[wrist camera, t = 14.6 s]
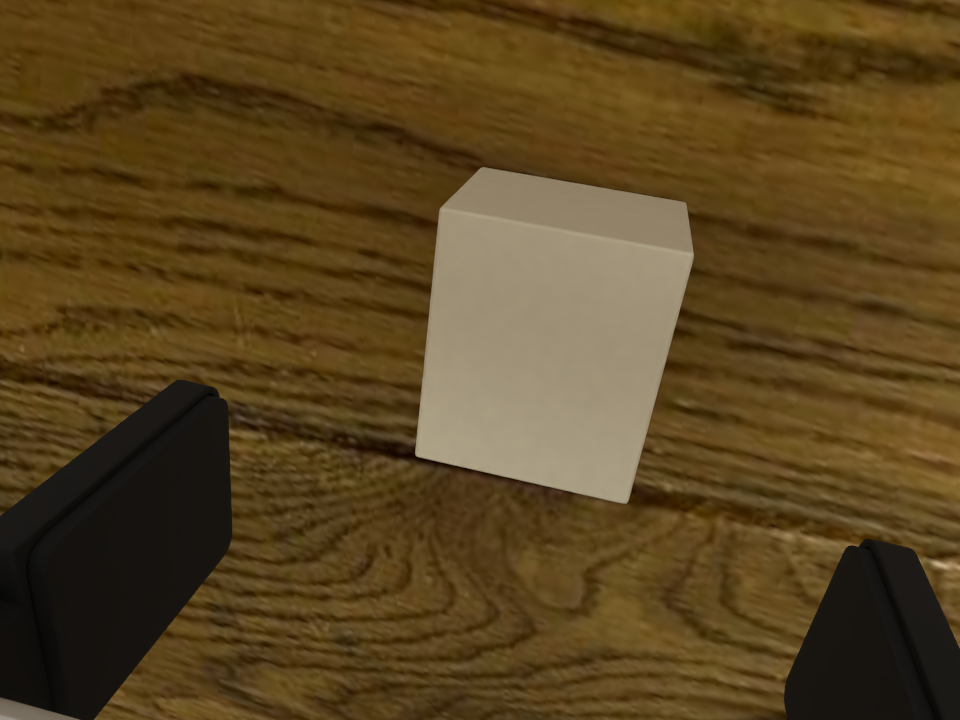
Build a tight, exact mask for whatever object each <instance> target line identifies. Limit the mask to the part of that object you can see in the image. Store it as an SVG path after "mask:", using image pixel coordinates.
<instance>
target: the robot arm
mask: <svg viewBox="0 0 960 720" xmlns="http://www.w3.org/2000/svg"><path fill="white" fill-rule="evenodd" d="M231 538H232V511H231V481H230V452H229V422H228V405H227V402H226V400H224V399H222V398H220V397H219V393H218V391H217V389H215V388H214V387H211V386H207V385H202V384H198V383H194V382H189V381H185V380H177V381H175V382H173V383H172V384H171V385H169V386H168V387H167V388H165V389H164V390H163V391H161V392H160V393H159V394H158V395H156V396H155V397H154V398H152V399H151V400H150V401H148V402H147V403H146V404H145V405H143V406H142V407H141V408H139V409H138V410H137V411H136V412H134V413H133V414H132V415H130V416H129V417H128V418H126V419H125V420H124V421H123V422H121V423H120V424H119V425H117V426H116V427H115V428H114V429H112V430H111V431H110V432H108V433H107V434H106V435H104V436H103V437H102V438H101V439H99V440H98V441H97V442H95V443H94V444H93V445H92V446H90V447H89V448H88V449H86V450H85V451H84V452H82V453H81V454H80V455H79V456H77V457H76V458H75V459H73V460H72V461H71V462H70V463H68V464H67V465H66V466H64V467H63V468H62V469H60V470H59V471H58V472H57V473H55V474H54V475H53V476H51V477H50V478H49V479H48V480H46V481H45V482H44V483H42V484H41V485H40V486H38V487H37V488H36V489H35V490H33V491H32V492H31V493H29V494H28V495H27V496H25V497H24V498H23V499H22V500H20V501H19V502H18V503H16V504H15V505H14V506H13V507H11V508H10V509H9V510H7V511H6V512H5V513H3V514H2V515H1V516H0V720H94V719H95V717H96V716H97V715H98V714H99V712H100V711H101V710H102V709H103V707H104V706H105V705H106V704H107V702H108V701H109V700H110V699H111V697H112V696H113V695H114V694H115V692H116V691H117V690H118V689H119V687H120V686H121V685H122V684H123V682H124V681H125V680H126V679H127V677H128V676H129V675H130V674H131V672H132V671H133V670H134V668H135V667H136V666H137V665H138V663H139V662H140V661H141V660H142V658H143V657H144V656H145V655H146V653H147V652H148V651H149V650H150V648H151V647H152V646H153V645H154V643H155V642H156V641H157V640H158V638H159V637H160V636H161V635H162V633H163V632H164V631H165V630H166V628H167V627H168V626H169V625H170V623H171V622H172V621H173V620H174V618H175V617H176V616H177V614H178V613H179V612H180V611H181V609H182V608H183V607H184V606H185V604H186V603H187V602H188V601H189V599H190V598H191V597H192V596H193V594H194V593H195V592H196V591H197V589H198V588H199V587H200V586H201V584H202V583H203V582H204V581H205V579H206V578H207V577H208V576H209V574H210V573H211V572H212V571H213V569H214V568H215V567H216V565H217V564H218V563H219V562H220V560H221V559H222V558H223V557H224V555H225V554H226V552H227V550H228V548H229V545H230V542H231ZM784 702H785V710H786V716H787V720H960V648H959V646H958V644H957V642H956V640H955V638H954V635H953V633H952V631H951V629H950V627H949V624H948V622H947V620H946V618H945V616H944V614H943V611H942V609H941V607H940V605H939V603H938V600H937V598H936V596H935V594H934V592H933V589H932V587H931V585H930V583H929V581H928V579H927V576H926V574H925V572H924V570H923V568H922V565H921V563H920V561H919V559H918V557H917V555H916V553H915V552H914V550H912V549H910V548H907V547H903V546H898V545H894V544H890V543H885V542H881V541H877V540H872V539H865V540H864V541H863V542H862V543H861V544H860V546H859V547H856V546H852V545H851V546H848V547H847V548H846V549H845V551H844V553H843V555H842V557H841V559H840V561H839V564H838V566H837V568H836V570H835V573H834V575H833V577H832V579H831V582H830V584H829V586H828V588H827V590H826V593H825V595H824V597H823V599H822V602H821V604H820V606H819V608H818V610H817V613H816V615H815V617H814V619H813V622H812V624H811V626H810V628H809V630H808V633H807V635H806V637H805V639H804V642H803V644H802V646H801V648H800V651H799V653H798V655H797V657H796V659H795V662H794V664H793V666H792V668H791V671H790V673H789V675H788V678H787V681H786V685H785V692H784Z"/></svg>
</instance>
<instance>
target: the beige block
mask: <svg viewBox="0 0 960 720" xmlns="http://www.w3.org/2000/svg"><path fill="white" fill-rule="evenodd" d="M693 259H694V253H693V246H692V239H691V232H690V225H689V218H688V211H687V205H686V203H685V202H681V201H676V200H670V199H664V198H658V197H653V196H647V195H641V194H635V193H630V192H624V191H618V190H612V189H607V188H601V187H595V186H589V185H583V184H578V183H572V182H566V181H560V180H555V179H549V178H543V177H537V176H532V175H526V174H520V173H514V172H509V171H503V170H497V169H491V168H486V167H482V168H480V169H479V170H478V171H477V172H476V173H475V174H474V175H473V176H472V177H471V178H470V179H469V180H468V181H467V182H466V183H465V184H464V185H463V186H462V187H461V188H460V189H459V190H458V191H457V192H456V193H455V194H454V195H453V196H452V197H451V198H450V199H449V200H448V201H447V202H446V203H445V204H444V205H443V206H442V207H441V208H440V210H439V219H438V229H437V239H436V249H435V259H434V269H433V279H432V289H431V299H430V309H429V319H428V330H427V340H426V350H425V360H424V370H423V380H422V390H421V400H420V410H419V420H418V430H417V440H416V450H415V454H416V456H417V457H421V458H425V459H429V460H434V461H438V462H443V463H447V464H451V465H456V466H460V467H465V468H469V469H473V470H478V471H482V472H486V473H491V474H495V475H500V476H504V477H508V478H513V479H517V480H522V481H526V482H530V483H535V484H539V485H544V486H548V487H552V488H557V489H561V490H565V491H570V492H574V493H579V494H583V495H587V496H592V497H596V498H601V499H605V500H609V501H614V502H618V503H622V504H626V503H627V502H628V501H629V497H630V493H631V489H632V486H633V482H634V478H635V475H636V471H637V467H638V463H639V460H640V456H641V452H642V449H643V445H644V441H645V437H646V434H647V430H648V426H649V423H650V419H651V415H652V411H653V408H654V404H655V400H656V397H657V393H658V389H659V385H660V382H661V378H662V374H663V370H664V367H665V363H666V359H667V356H668V352H669V348H670V344H671V341H672V337H673V333H674V330H675V326H676V322H677V318H678V315H679V311H680V307H681V304H682V300H683V296H684V292H685V289H686V285H687V281H688V278H689V274H690V270H691V266H692V263H693Z"/></svg>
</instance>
